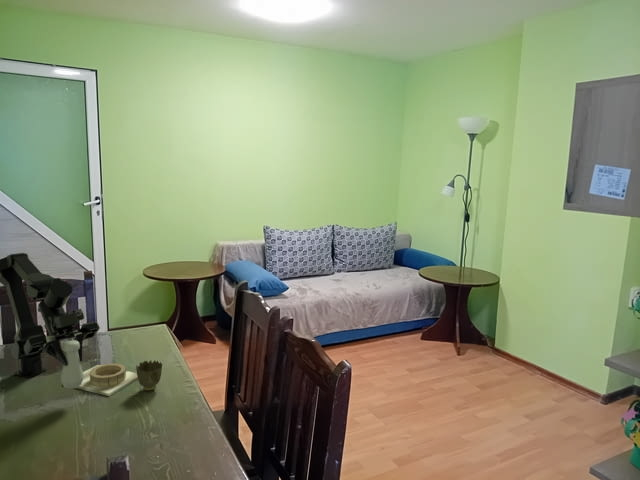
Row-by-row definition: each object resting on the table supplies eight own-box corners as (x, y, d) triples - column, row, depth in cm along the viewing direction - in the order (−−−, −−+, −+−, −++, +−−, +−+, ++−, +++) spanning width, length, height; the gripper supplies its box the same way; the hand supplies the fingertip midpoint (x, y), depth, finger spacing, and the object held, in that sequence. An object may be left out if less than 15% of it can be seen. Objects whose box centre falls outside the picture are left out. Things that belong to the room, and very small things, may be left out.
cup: (154, 397, 137) (153, 371, 136) (131, 393, 138) (130, 368, 137) (167, 385, 144) (166, 361, 143) (145, 382, 145) (145, 358, 144)
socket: (62, 384, 142) (62, 373, 142) (98, 366, 155) (97, 356, 155) (109, 396, 136) (108, 384, 136) (142, 376, 149) (141, 365, 149)
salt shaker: (66, 380, 134) (65, 337, 132) (87, 380, 134) (86, 338, 132) (57, 390, 128) (55, 345, 126) (78, 390, 128) (77, 345, 126)
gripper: (25, 308, 122) (45, 360, 117) (95, 295, 137) (116, 340, 132) (15, 329, 128) (34, 379, 123) (83, 314, 143) (102, 358, 138)
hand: (73, 363), depth 129 cm, fingers closed on salt shaker, 3 cm apart
